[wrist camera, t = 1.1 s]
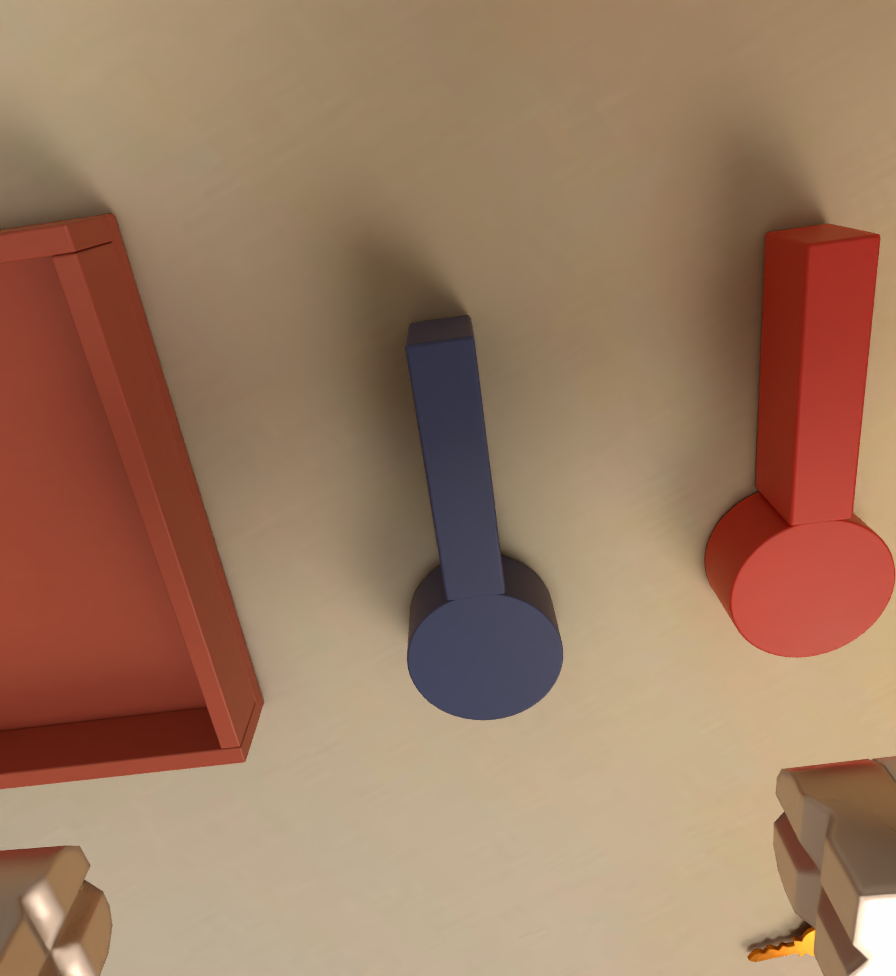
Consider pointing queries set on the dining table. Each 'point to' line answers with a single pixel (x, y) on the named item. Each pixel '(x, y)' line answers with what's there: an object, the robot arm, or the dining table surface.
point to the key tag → (786, 947)
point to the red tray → (103, 534)
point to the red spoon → (807, 456)
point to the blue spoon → (470, 551)
